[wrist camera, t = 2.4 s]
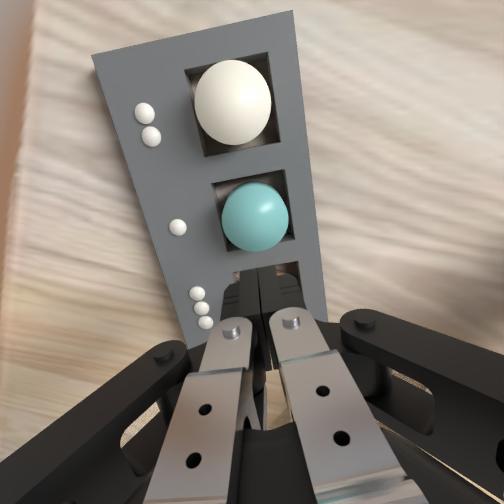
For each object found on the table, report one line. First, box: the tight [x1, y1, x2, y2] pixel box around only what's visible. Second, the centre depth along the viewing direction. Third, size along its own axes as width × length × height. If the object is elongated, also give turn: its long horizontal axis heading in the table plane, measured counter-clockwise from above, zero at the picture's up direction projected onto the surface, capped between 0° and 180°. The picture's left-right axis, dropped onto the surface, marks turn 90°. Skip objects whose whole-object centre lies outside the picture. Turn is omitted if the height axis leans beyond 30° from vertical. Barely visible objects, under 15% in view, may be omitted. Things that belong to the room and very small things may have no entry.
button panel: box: [91, 10, 328, 349], centre depth 26 cm, size 14×26×2 cm, turn 11°
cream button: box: [195, 60, 271, 145], centre depth 21 cm, size 5×5×3 cm
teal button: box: [222, 181, 288, 252], centre depth 24 cm, size 5×5×3 cm
